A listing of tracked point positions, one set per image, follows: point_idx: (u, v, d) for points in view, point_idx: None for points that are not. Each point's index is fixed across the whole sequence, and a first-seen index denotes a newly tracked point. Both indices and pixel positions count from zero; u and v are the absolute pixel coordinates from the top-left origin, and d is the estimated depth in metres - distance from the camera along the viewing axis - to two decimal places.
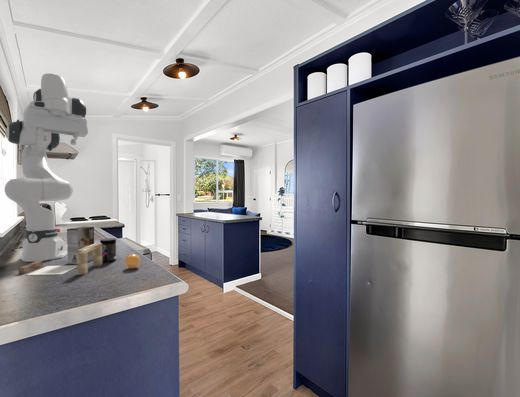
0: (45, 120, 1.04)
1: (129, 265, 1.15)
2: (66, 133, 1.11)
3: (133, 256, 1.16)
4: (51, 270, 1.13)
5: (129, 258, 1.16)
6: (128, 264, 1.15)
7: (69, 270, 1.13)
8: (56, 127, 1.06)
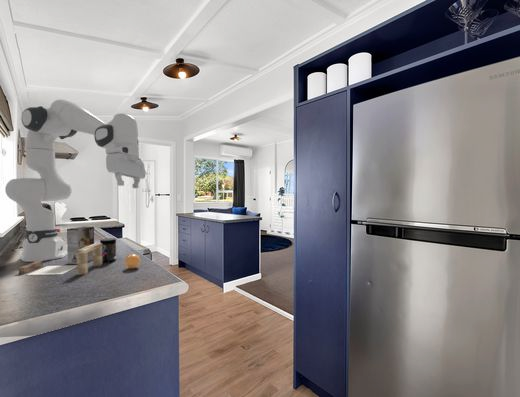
0: (125, 165, 1.06)
1: (129, 265, 1.15)
2: (130, 176, 1.14)
3: (133, 256, 1.16)
4: (51, 270, 1.13)
5: (129, 258, 1.16)
6: (128, 264, 1.15)
7: (69, 270, 1.13)
8: (130, 172, 1.09)
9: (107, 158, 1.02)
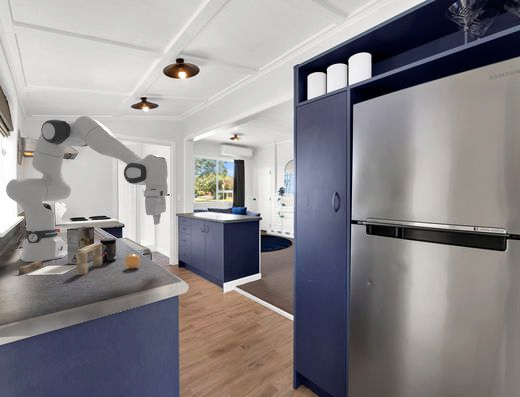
0: (158, 206, 1.15)
1: (129, 265, 1.15)
2: None
3: (133, 256, 1.16)
4: (51, 270, 1.13)
5: (129, 258, 1.16)
6: (128, 264, 1.15)
7: (69, 270, 1.13)
8: (160, 211, 1.18)
9: (146, 202, 1.09)
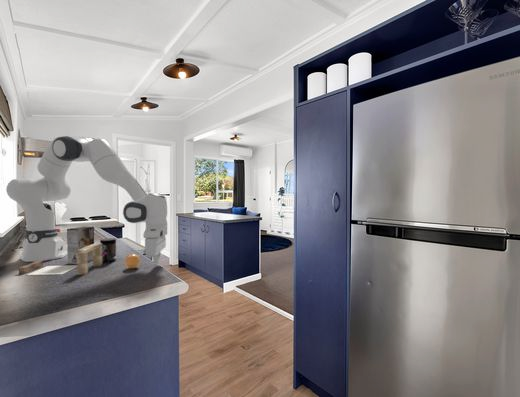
0: (158, 246, 1.15)
1: (129, 265, 1.15)
2: None
3: (133, 256, 1.16)
4: (51, 270, 1.13)
5: (129, 258, 1.16)
6: (128, 264, 1.15)
7: (69, 270, 1.13)
8: (160, 250, 1.18)
9: (146, 244, 1.09)
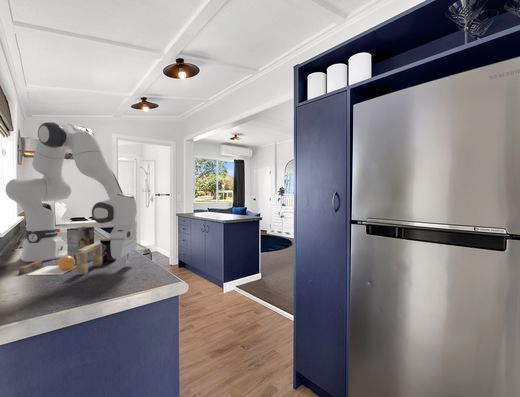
0: (126, 247, 1.13)
1: (65, 263, 1.12)
2: None
3: (58, 266, 1.13)
4: (51, 270, 1.13)
5: (60, 268, 1.12)
6: (65, 264, 1.12)
7: (69, 270, 1.13)
8: (128, 251, 1.17)
9: (112, 245, 1.08)
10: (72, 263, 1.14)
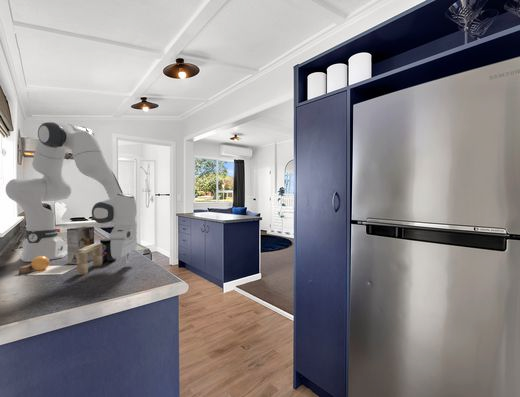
0: (126, 247, 1.13)
1: (33, 266, 1.11)
2: None
3: (43, 260, 1.12)
4: (51, 270, 1.13)
5: (38, 260, 1.11)
6: (33, 265, 1.11)
7: (69, 270, 1.13)
8: (128, 251, 1.17)
9: (112, 245, 1.08)
10: None
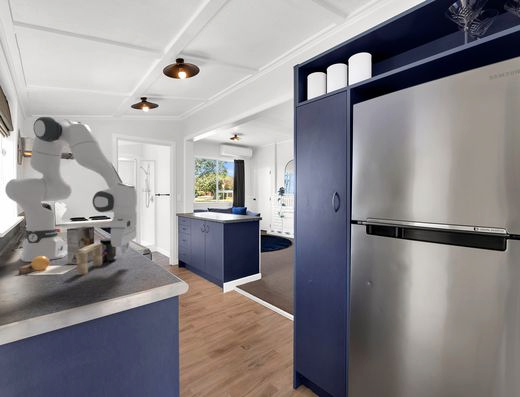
0: (125, 236, 1.14)
1: (33, 266, 1.11)
2: None
3: (43, 260, 1.12)
4: (51, 270, 1.13)
5: (38, 260, 1.11)
6: (33, 265, 1.11)
7: (69, 270, 1.13)
8: (128, 240, 1.17)
9: (112, 234, 1.08)
10: None
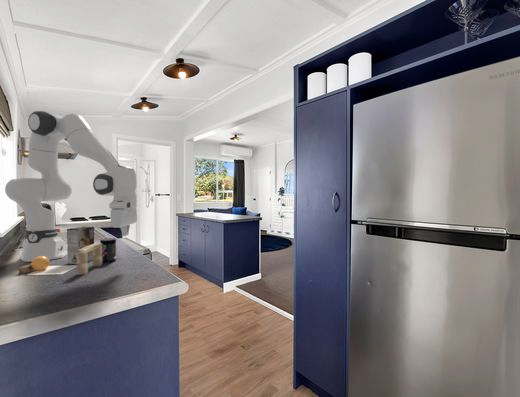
0: (126, 218, 1.13)
1: (33, 266, 1.11)
2: None
3: (43, 260, 1.12)
4: (51, 270, 1.13)
5: (38, 260, 1.11)
6: (33, 265, 1.11)
7: (69, 270, 1.13)
8: (128, 223, 1.16)
9: (112, 214, 1.07)
10: None
